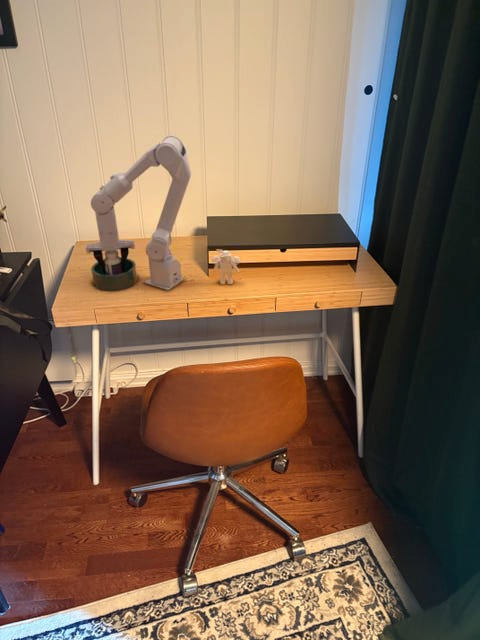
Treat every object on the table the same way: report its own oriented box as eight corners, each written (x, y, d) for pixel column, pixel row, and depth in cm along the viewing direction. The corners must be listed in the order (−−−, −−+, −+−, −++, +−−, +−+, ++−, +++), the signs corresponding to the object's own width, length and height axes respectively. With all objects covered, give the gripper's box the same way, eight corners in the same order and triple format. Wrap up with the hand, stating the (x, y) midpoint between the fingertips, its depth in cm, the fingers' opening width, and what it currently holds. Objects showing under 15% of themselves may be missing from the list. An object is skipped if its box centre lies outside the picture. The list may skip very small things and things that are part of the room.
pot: (138, 269, 159) (136, 256, 157) (136, 289, 148) (134, 275, 145) (96, 272, 158) (94, 258, 155) (91, 292, 146) (88, 277, 144)
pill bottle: (126, 276, 155) (122, 248, 149) (121, 284, 150) (117, 255, 145) (110, 275, 155) (105, 247, 150) (104, 283, 151) (99, 255, 145)
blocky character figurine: (211, 284, 150) (210, 250, 144) (213, 279, 154) (212, 244, 147) (240, 285, 150) (240, 250, 143) (241, 280, 153) (241, 245, 147)
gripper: (131, 223, 148) (136, 263, 156) (83, 227, 146) (90, 267, 153) (132, 232, 143) (138, 272, 150) (82, 236, 140) (90, 277, 147)
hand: (114, 270), depth 151 cm, fingers closed on pill bottle, 5 cm apart
